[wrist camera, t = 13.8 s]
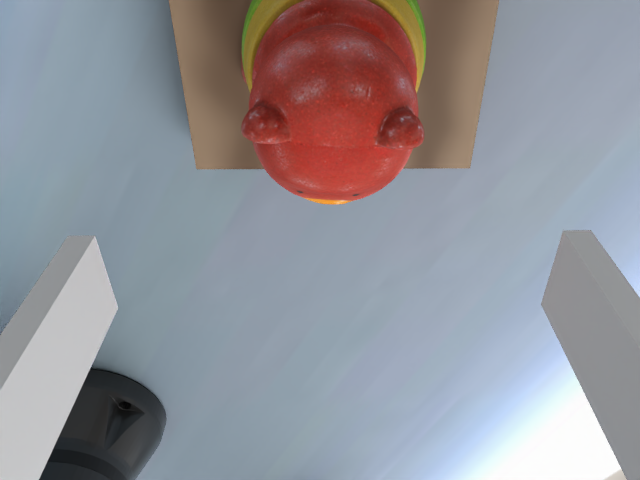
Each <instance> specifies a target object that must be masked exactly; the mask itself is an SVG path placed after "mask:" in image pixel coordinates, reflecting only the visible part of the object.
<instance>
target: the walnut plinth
mask: <svg viewBox="0 0 640 480" xmlns="http://www.w3.org/2000/svg"><path fill="white" fill-rule="evenodd" d="M251 2H252V0H169V5H170V11H171V17H172V23H173V29H174V35H175V41H176V48H177V54H178V60H179V66H180V72H181V78H182V84H183V90H184V96H185V102H186V108H187V114H188V120H189V127H190V133H191V139H192V145H193V151H194V157H195V163H196V169H264V167H263V166H262V164H261V162H260V161H259V159H258V156H257V154H256V152H255V150H254V146H253V142H252V141H251V140H249V139H247V138H245V137H244V136H243V135H242V133H241V125H242V121H243V119H244V117H245V115H246V114H247V112H248V111H249V98H250V92H249V89H248V85H247V84H246V83H245V81H244V79H243V76H242V72H241V48H242V34H243V28H244V23H245V19H246V15H247V12H248V9H249V7H250V4H251ZM417 3H418V5H419V7H420V10H421V13H422V17H423V21H424V26H425V33H426V59H425V66H424V71H423V74H422V78H421V81H420V85H419V88H418V91H417V100H418V118H419V120H420V121H421V123H422V125H423V129H424V140H423V143H422V144H421V145H419V146H418V147H416V148H413V150H412V152H411V154H410V157H409V159H408V161H407V163H406V165H405V166H404V168H470V165H471V159H472V154H473V148H474V142H475V136H476V131H477V125H478V119H479V113H480V108H481V102H482V96H483V90H484V85H485V79H486V73H487V67H488V62H489V56H490V50H491V44H492V39H493V33H494V27H495V21H496V15H497V10H498V4H499V0H417Z"/></svg>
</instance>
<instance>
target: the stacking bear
mask: <svg viewBox="0 0 640 480" xmlns="http://www.w3.org/2000/svg"><path fill="white" fill-rule="evenodd" d="M425 59H426V33H425V26H424V21H423V17H422V13H421V10H420V7H419V5H418V3H417V0H252V2H251V4H250V7H249V9H248V12H247V15H246V19H245V23H244V28H243V34H242V48H241V72H242V76H243V79H244V81H245V83H246V84H247V85H248V89H249V92H250V98H249V111H248V112H247V114H246V115H245V117H244V119H243V121H242V125H241V133H242V135H243V136H244V137H245V138H247V139H249V140H251V141H252V142H253V146H254V150H255V152H256V154H257V156H258V159H259V161H260V162H261V164H262V166H263V167H264V169H265V170H266V171H267V173H268V174H269V175H270V176H271V177H272V178H273V179H274V180H275V181H276V182H277V183H278V184H279V185H281V186H282V187H284V188H285V189H287V190H288V191H290V192H291V193H293V194H295V195H298V196H301V197H303V198H305V199H308V200H310V201H314V202H317V203H321V204H344V203H347V202H351V201H354V200H357V199H361V198H364V197H366V196H369V195H371V194H373V193H375V192H377V191H379V190H380V189H382V188H383V187H385V186H386V185H387V184H389V183H390V182H391V181H392V180H393V179H394V178H395V177H396V176H397V175H398V174H399V172H400V171H401V170H402V169H403V168H404V166H405V165H406V163H407V161H408V159H409V157H410V154H411V152H412V150H413V148H416V147H418V146H419V145H421V144H422V143H423V140H424V129H423V125H422V123H421V121H420V120H419V118H418V100H417V91H418V88H419V85H420V81H421V78H422V74H423V71H424V66H425Z"/></svg>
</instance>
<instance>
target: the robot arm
mask: <svg viewBox="0 0 640 480" xmlns="http://www.w3.org/2000/svg"><path fill="white" fill-rule="evenodd" d="M541 305H542V307H543V309H544V311H545V313H546V315H547V318H548V320H549V322H550V324H551V326H552V328H553V330H554V332H555V334H556V336H557V338H558V340H559V342H560V344H561V346H562V348H563V350H564V352H565V354H566V356H567V358H568V360H569V362H570V364H571V367H572V369H573V371H574V373H575V375H576V377H577V379H578V381H579V383H580V385H581V387H582V389H583V391H584V393H585V395H586V397H587V399H588V401H589V403H590V405H591V407H592V409H593V411H594V414H595V416H596V418H597V420H598V422H599V424H600V426H601V428H602V430H603V432H604V434H605V436H606V438H607V440H608V442H609V444H610V446H611V448H612V450H613V452H614V454H615V456H616V458H617V461H618V463H619V465H620V467H621V469H622V471H623V473H624V475H625V476H626V479H627V480H640V298H639V296H638V295H637V293H636V292H635V291H634V289H633V288H632V286H631V285H630V284H629V282H628V281H627V280H626V278H625V277H624V275H623V274H622V273H621V271H620V270H619V268H618V267H617V266H616V264H615V263H614V262H613V260H612V259H611V257H610V256H609V255H608V253H607V252H606V250H605V249H604V248H603V246H602V245H601V244H600V242H599V241H598V239H597V238H596V237H595V235H594V234H593V233H592V231H591V230H573V231H563V233H562V236H561V240H560V243H559V246H558V250H557V253H556V256H555V259H554V263H553V266H552V269H551V273H550V276H549V279H548V283H547V286H546V289H545V293H544V296H543V299H542V303H541ZM117 310H118V306H117V302H116V299H115V296H114V293H113V290H112V287H111V284H110V281H109V278H108V274H107V271H106V268H105V265H104V262H103V259H102V256H101V253H100V250H99V246H98V243H97V240H96V237H95V236H68V237H67V238H66V240H65V241H64V243H63V244H62V246H61V247H60V248H59V250H58V251H57V253H56V254H55V256H54V257H53V259H52V260H51V262H50V263H49V265H48V266H47V267H46V269H45V270H44V272H43V273H42V275H41V276H40V278H39V279H38V281H37V282H36V284H35V285H34V286H33V288H32V289H31V291H30V292H29V294H28V295H27V297H26V298H25V300H24V301H23V303H22V304H21V305H20V307H19V308H18V310H17V311H16V313H15V314H14V316H13V317H12V319H11V320H10V322H9V323H8V324H7V326H6V327H5V329H4V330H3V332H2V333H1V335H0V480H135V479H136V478H137V476H138V475H139V473H140V472H141V470H142V469H143V468H144V466H145V465H146V463H147V462H148V460H149V459H150V458H151V456H152V455H153V453H154V452H155V450H156V449H157V447H158V446H159V444H160V441H161V439H162V435H163V432H164V428H165V425H166V414H165V411H164V408H163V406H162V405H161V403H160V402H159V400H158V399H157V398H156V397H155V396H154V395H153V394H152V393H151V392H150V391H149V390H147V389H146V388H145V387H143V386H141V385H140V384H138V383H136V382H134V381H132V380H130V379H128V378H126V377H123V376H120V375H117V374H114V373H110V372H106V371H100V370H91V369H90V368H91V366H92V364H93V362H94V359H95V357H96V355H97V353H98V351H99V349H100V346H101V344H102V342H103V340H104V338H105V336H106V333H107V331H108V329H109V327H110V325H111V323H112V320H113V318H114V316H115V314H116V312H117Z"/></svg>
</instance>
